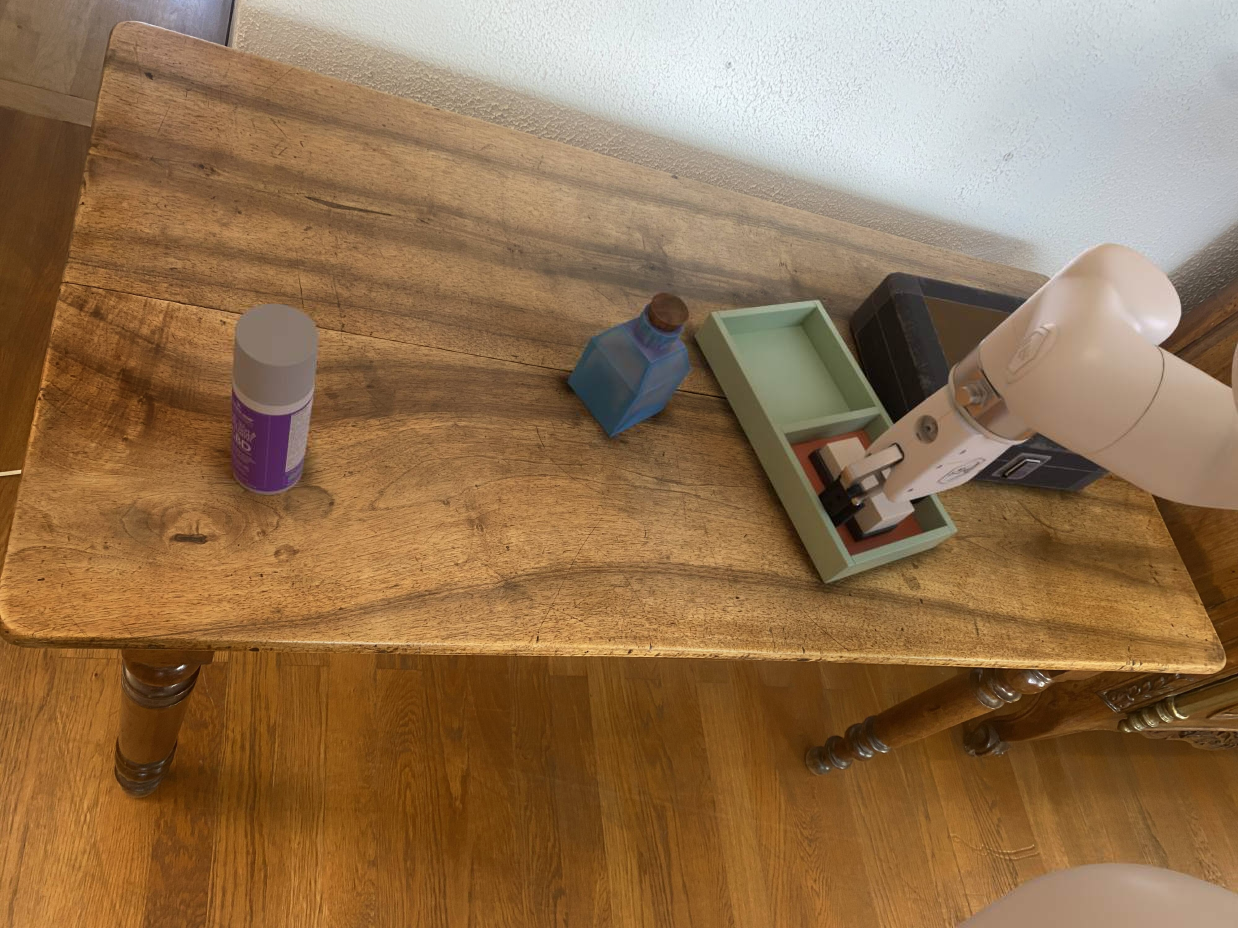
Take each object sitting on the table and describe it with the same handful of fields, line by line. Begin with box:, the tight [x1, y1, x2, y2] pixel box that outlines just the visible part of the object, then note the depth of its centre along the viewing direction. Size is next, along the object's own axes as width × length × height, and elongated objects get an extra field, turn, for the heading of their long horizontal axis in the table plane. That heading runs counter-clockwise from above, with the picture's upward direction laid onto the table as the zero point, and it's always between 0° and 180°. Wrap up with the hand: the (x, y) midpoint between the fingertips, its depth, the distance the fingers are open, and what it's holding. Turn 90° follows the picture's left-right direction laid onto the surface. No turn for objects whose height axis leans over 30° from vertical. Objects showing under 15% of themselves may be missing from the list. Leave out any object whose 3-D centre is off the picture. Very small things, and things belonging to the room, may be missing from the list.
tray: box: [694, 299, 959, 584], centre depth 81 cm, size 14×26×4 cm, turn 24°
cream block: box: [808, 437, 914, 542], centre depth 78 cm, size 9×4×4 cm, turn 24°
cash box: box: [850, 271, 1112, 492], centre depth 90 cm, size 25×20×8 cm
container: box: [230, 303, 320, 496], centre depth 55 cm, size 5×5×15 cm
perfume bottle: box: [566, 291, 691, 438], centre depth 71 cm, size 6×6×12 cm
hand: (867, 500), depth 77 cm, fingers open, 9 cm apart
